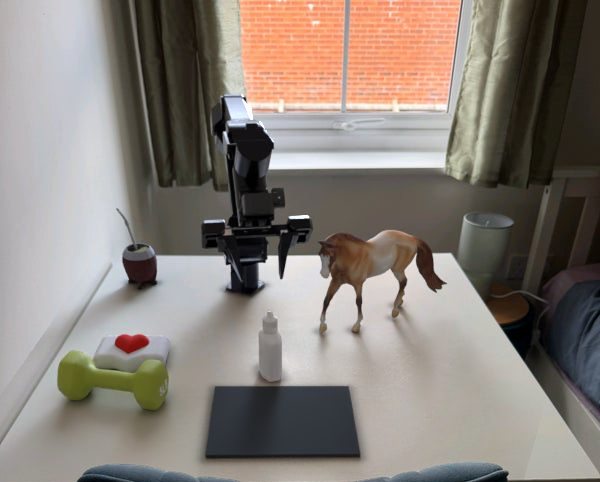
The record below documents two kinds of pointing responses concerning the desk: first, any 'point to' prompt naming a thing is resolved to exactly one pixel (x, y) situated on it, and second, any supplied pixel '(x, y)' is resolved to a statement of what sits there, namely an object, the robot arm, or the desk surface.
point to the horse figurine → (373, 265)
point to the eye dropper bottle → (270, 349)
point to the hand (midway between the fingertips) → (262, 279)
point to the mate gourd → (139, 261)
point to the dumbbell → (112, 379)
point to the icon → (130, 351)
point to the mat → (282, 422)
